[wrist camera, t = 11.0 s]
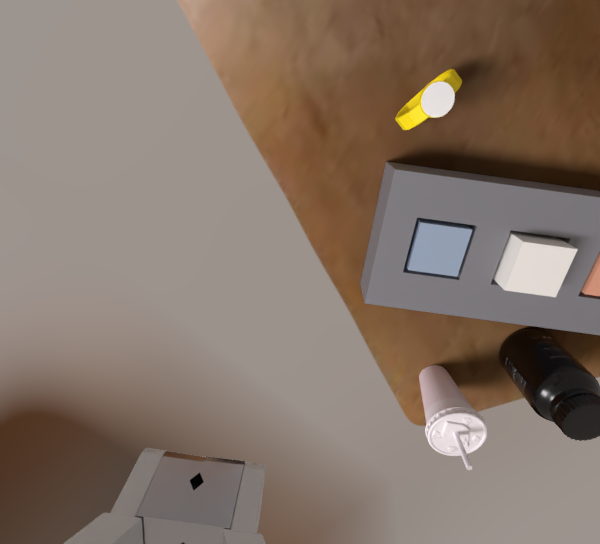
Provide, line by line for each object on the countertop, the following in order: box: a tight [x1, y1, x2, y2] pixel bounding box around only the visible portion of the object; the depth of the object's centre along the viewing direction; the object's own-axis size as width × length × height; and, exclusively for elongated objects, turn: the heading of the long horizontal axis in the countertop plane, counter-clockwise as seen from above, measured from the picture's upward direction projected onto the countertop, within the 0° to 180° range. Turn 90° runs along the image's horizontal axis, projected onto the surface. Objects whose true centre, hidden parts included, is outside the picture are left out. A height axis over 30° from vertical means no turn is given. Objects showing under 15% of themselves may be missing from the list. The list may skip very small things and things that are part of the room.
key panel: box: [360, 162, 600, 335], centre depth 40 cm, size 30×14×5 cm, turn 83°
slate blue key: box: [405, 218, 472, 277], centre depth 39 cm, size 5×5×4 cm
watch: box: [395, 69, 462, 130], centre depth 34 cm, size 6×3×6 cm, turn 133°
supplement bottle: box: [499, 329, 600, 441], centre depth 42 cm, size 7×7×12 cm
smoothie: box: [419, 365, 487, 470], centre depth 43 cm, size 6×6×14 cm
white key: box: [493, 230, 578, 297], centre depth 37 cm, size 5×5×4 cm
